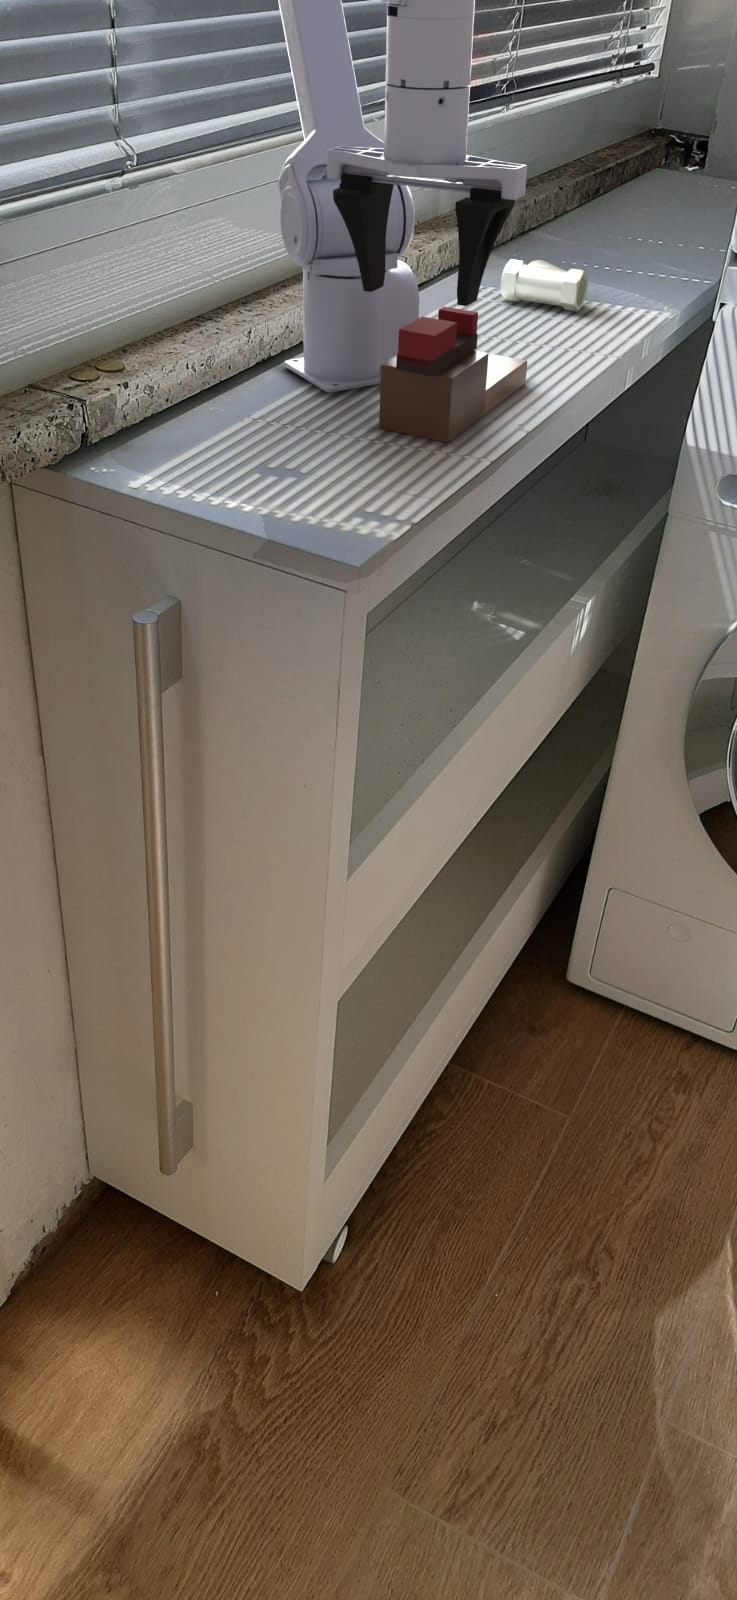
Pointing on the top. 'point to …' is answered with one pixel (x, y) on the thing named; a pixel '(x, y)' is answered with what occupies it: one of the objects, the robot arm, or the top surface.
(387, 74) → the robot arm
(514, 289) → the pipe fitting
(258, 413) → the top surface
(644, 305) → the top surface
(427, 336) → the red blocks on slab
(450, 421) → the copper l-shaped step block
